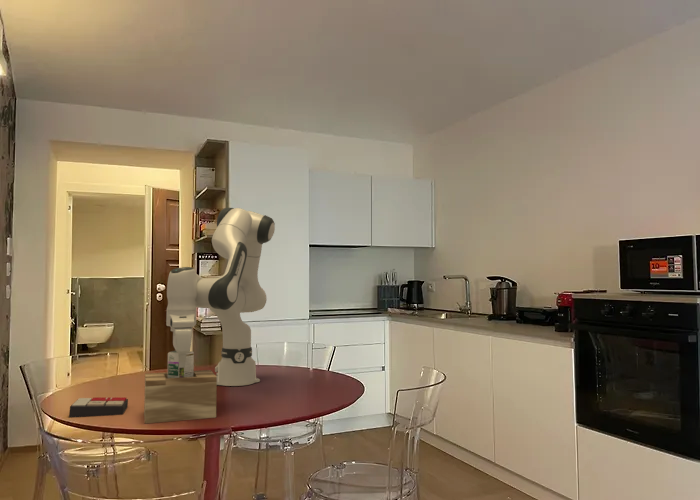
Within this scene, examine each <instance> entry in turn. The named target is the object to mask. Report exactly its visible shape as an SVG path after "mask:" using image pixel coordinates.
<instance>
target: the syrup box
mask: <svg viewBox="0 0 700 500" xmlns="http://www.w3.org/2000/svg"><path fill="white" fill-rule="evenodd" d="M178 355H179V354H178V353H177V352H176V350H172V351H169V352H168V353H167V372H168V378H182V377H194V371H195V370H194V368H195V367H194V364H195V361H194V359H195V352H194V350H193V351H192V350H190V352H189V353H186V360H185V367H184V368H180V367H179V356H178Z"/></svg>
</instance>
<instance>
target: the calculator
mask: <svg viewBox="0 0 700 500" xmlns="http://www.w3.org/2000/svg"><path fill="white" fill-rule="evenodd" d="M128 404H129V399H128V398H127V397H121V396H120V397H116V396H115V397H108V396H107V397H99V396H98V397H92V398H91V397H79V398H78V399H76V401H74V402H73V403H72V404H70V406H69V413H68V414H69V415H68V418H71V419H72V418H85V417H104V416H106V417H107V416H121V415H124V413H125V412H126V410H127V409H128V408H129V407H128V406H129V405H128Z"/></svg>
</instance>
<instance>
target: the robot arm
mask: <svg viewBox="0 0 700 500" xmlns="http://www.w3.org/2000/svg"><path fill="white" fill-rule="evenodd" d="M275 228H276V222H275V221H274V219H273V218H271V217H270V216H268V215H264V214H261V213H259V212H254V211H251V210H245V209H244V208H240V207H225V208H222V209H221V210H220V212H219V213H218V216H217V219H216V229H215V231H214V232H213V234H212V238H211V243H212V244H211V245H212V248H213V250H214V251H215V252H216V253H217V254H218V255H219V256H220V257H221V258H223V259H226V260H228V261H227V265H226V268H225V270H224V273H223V275H221V276H219V277H215V278H214V277H209V278H208V277H202V276H200V275H199V274H197V272H196V269H195V268H194V267H190V266H182V267H176V268H173V269H171V270H170V272H169V274H168V277H167V285H166V298H167V306H166V319H165V322H166V323H165V325H166V326H167V327H170V332H172V345H173V348H174V351H176V352H177V353H178V354H179V355H178V356H179V367H180V368H184V367H185V360H186V353H189V352H190V351H191V347H192V338H193V328H195V326H196V325H197V308H198V309H199V308H201V309H209V310H210V311H211V312H212V313H214V314H215V316H216V317H217V318H218V320H219V321H220V322H219V323H220V326H221V328H222V329H221V330H222V348H221V352H220V353H221V355H220V356H221V359H220V360H219V362H218V364H217V365H216V366H215V367H214V372H215V373H216V374H215V375H216V377H217V386H223V387H225V386H226V387H230V386H231V387H238V386H239V387H240V386H242V387H243V386H248V385H252V384H255V383H256V384H257V383H260V382H261V379H260V378H258V377H257V369H256V361H255V360H254V359H253V357H252V356H253V348H252V330H251V327H250V326H249V324H248V323H246V322H244V321H243V320H242V318H241V314H242V313H243V314H244V313H254V312H259V311H260V310H263V309H264V308H265V306H266V304H267V299H268V298H267V294H266V291H265V290H264V289H263V288H262V287H261V285H260V282H259V277H258V276H259V275H258V273H259V272H258V271H259V267H260V266H259V265H260V259H261V254H262V248H263V244H266V243H268V242H269V241H271V240H272V238H273V236H274V234H275V230H276V229H275Z"/></svg>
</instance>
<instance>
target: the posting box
mask: <svg viewBox="0 0 700 500" xmlns="http://www.w3.org/2000/svg"><path fill="white" fill-rule="evenodd" d="M217 386H218V385H217V377H216V374H215V373H214V372H213V370H212V369H206V370H205V369H203V370H202V369H200V370H194V377H182V378H168V371H166V372H164V371H163V372H150V373H149V372H148V373H144V401H143V402H144V404H143V408H144V410H143V416H144V424H155V423H157V424H158V423H167V422H178V421H188V420H189V421H190V420H202V419H203V420H204V419H213V418H214V419H215V418H217Z"/></svg>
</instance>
